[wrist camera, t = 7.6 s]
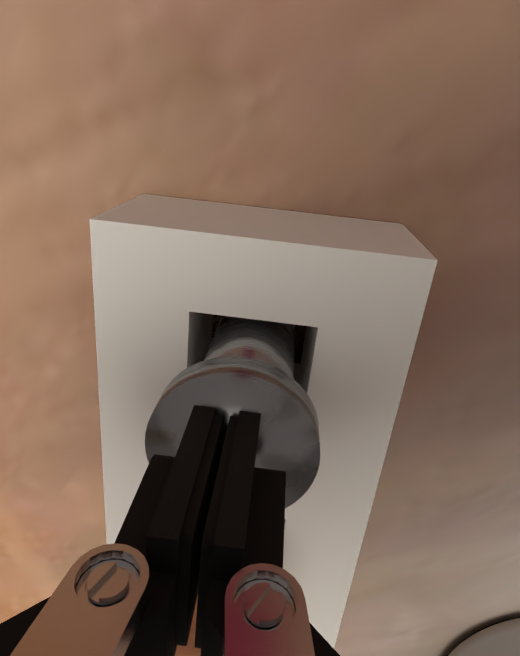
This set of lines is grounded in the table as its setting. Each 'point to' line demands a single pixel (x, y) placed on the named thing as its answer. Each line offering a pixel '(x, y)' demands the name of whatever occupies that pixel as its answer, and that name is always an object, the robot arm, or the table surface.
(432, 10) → the table surface
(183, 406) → the grey plug
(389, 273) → the block
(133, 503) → the robot arm
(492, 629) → the cylinder vase
